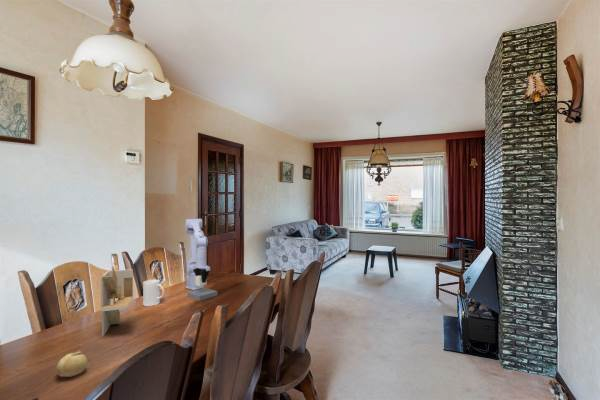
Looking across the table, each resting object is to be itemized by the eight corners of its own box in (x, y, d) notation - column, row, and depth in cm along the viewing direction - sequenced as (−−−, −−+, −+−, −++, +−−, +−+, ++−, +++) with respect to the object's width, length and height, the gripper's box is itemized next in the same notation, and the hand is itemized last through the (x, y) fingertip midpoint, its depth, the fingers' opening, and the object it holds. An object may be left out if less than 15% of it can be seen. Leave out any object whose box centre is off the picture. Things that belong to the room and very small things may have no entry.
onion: (66, 383, 93) (66, 360, 93) (50, 378, 96) (50, 355, 96) (93, 370, 101) (93, 348, 101) (77, 365, 104) (76, 344, 104)
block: (195, 284, 178) (195, 276, 178) (202, 283, 181) (202, 274, 181) (199, 286, 175) (199, 277, 175) (206, 284, 179) (206, 276, 179)
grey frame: (134, 322, 142) (133, 259, 142) (128, 336, 126) (127, 266, 126) (109, 325, 138) (108, 260, 138) (99, 340, 123) (99, 268, 123)
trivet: (187, 296, 178) (187, 292, 178) (205, 291, 187) (205, 287, 187) (199, 300, 170) (199, 296, 170) (217, 295, 180) (217, 291, 180)
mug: (168, 302, 168) (168, 280, 168) (156, 307, 160) (156, 284, 160) (151, 300, 171) (151, 278, 171) (138, 305, 163) (138, 282, 163)
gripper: (188, 257, 180) (188, 281, 180) (202, 260, 171) (202, 285, 171) (198, 256, 186) (198, 278, 185) (213, 258, 176) (213, 282, 176)
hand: (201, 281), depth 179 cm, fingers closed on block, 4 cm apart
